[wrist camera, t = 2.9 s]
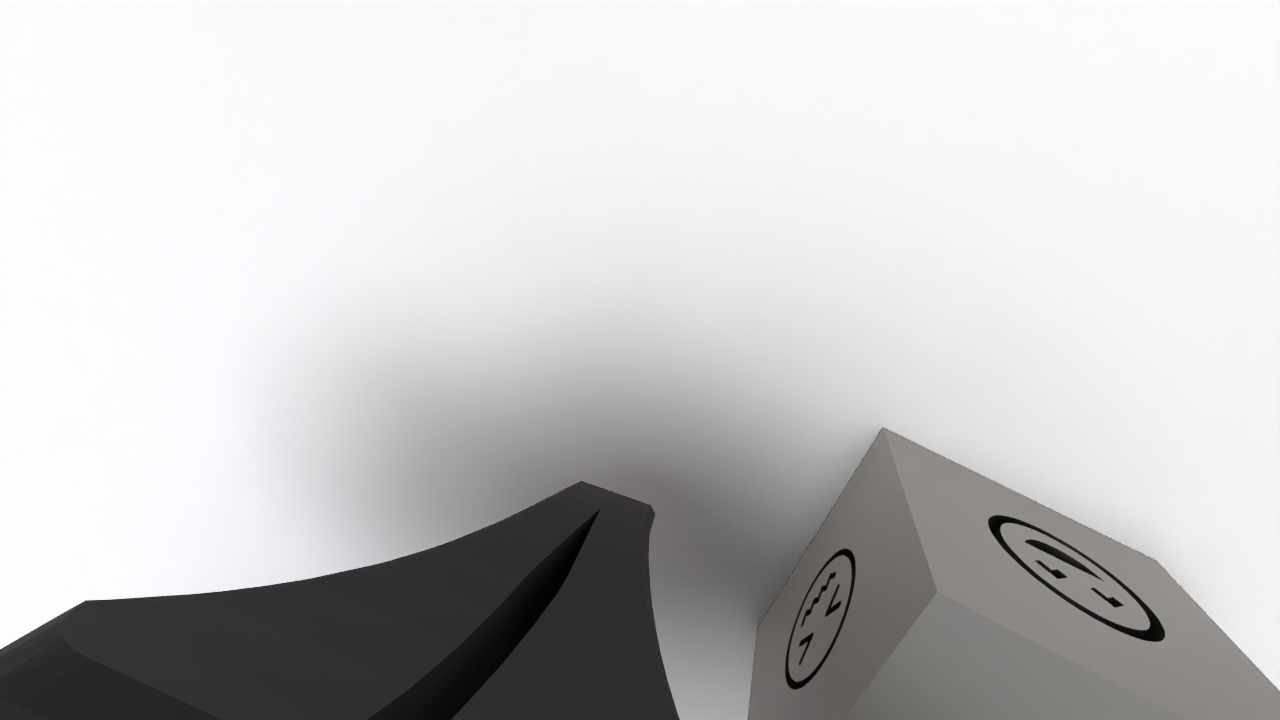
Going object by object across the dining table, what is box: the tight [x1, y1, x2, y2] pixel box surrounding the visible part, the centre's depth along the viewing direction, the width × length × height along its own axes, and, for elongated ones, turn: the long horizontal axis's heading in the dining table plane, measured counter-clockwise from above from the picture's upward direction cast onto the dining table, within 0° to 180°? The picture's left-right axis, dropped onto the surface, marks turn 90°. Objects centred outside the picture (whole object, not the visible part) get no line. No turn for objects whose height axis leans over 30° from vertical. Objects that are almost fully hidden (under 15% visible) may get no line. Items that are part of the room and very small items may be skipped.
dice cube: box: [748, 427, 1280, 720], centre depth 10 cm, size 5×5×5 cm
